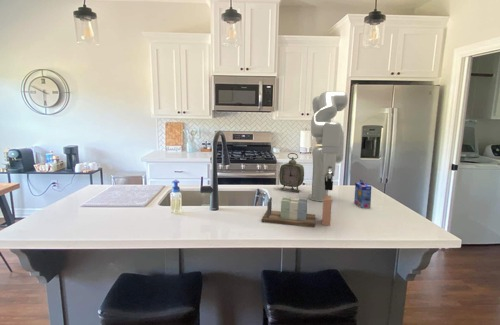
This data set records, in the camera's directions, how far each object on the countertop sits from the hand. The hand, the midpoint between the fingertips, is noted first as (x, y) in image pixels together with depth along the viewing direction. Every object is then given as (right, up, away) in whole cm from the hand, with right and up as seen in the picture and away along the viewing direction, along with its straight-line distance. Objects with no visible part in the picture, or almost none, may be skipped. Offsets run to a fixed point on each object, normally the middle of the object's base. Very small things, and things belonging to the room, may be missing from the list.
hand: (328, 187), depth 134 cm
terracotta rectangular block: (0, -17, +3) cm, 17 cm away
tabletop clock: (-8, -7, +61) cm, 62 cm away
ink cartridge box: (+27, -13, +31) cm, 43 cm away
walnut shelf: (-17, -16, +6) cm, 24 cm away
